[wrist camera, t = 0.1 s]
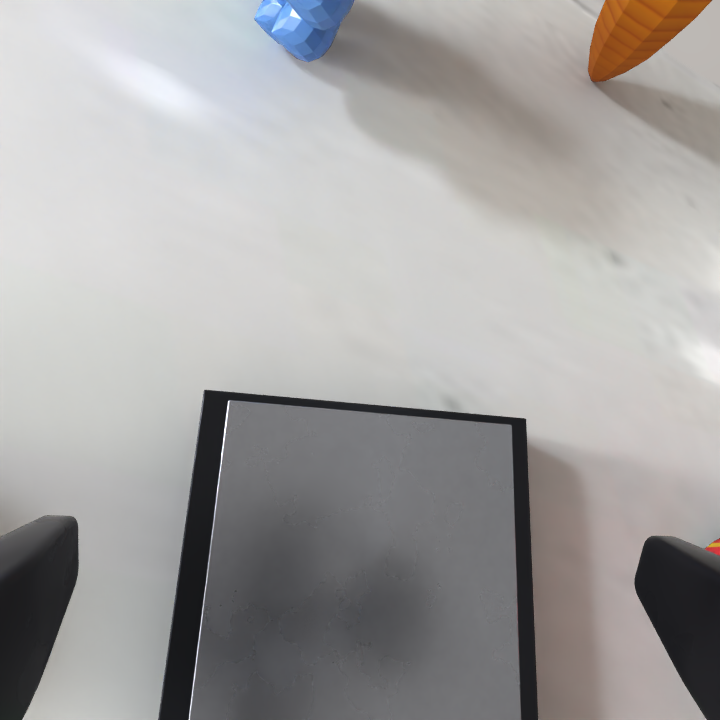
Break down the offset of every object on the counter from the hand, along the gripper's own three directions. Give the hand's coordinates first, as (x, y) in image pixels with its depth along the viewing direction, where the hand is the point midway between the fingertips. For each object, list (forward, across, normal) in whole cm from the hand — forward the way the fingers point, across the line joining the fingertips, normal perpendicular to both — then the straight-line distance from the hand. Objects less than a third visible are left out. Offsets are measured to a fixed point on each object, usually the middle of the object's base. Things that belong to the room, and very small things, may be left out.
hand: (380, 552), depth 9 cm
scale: (+12, -2, +9) cm, 15 cm away
